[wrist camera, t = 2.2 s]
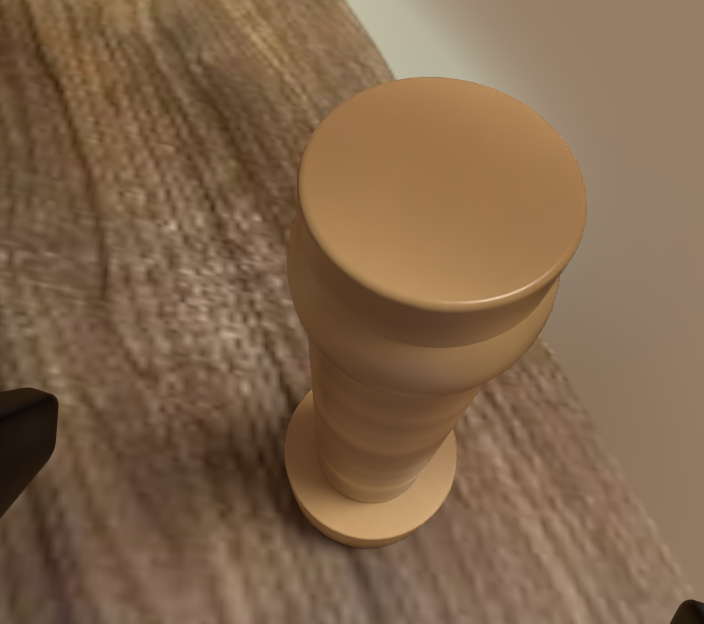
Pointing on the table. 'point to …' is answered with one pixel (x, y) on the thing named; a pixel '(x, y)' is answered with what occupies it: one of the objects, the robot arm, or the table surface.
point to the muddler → (416, 288)
